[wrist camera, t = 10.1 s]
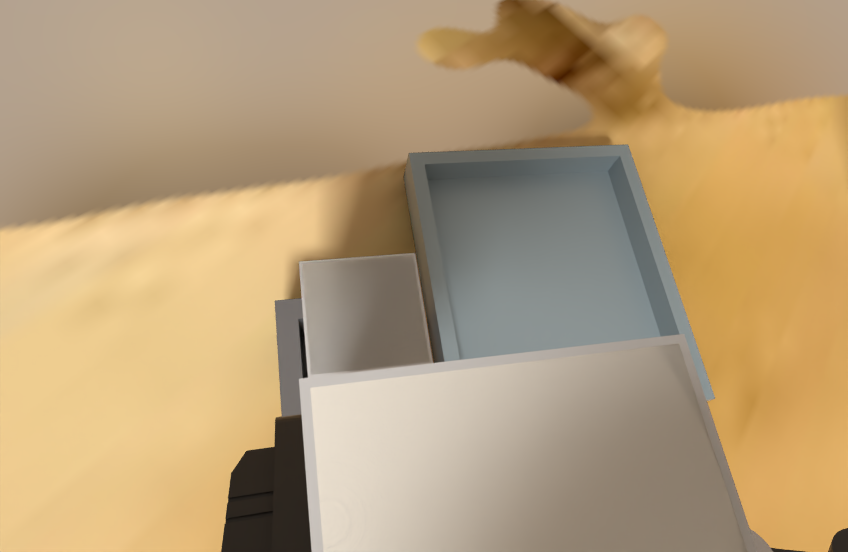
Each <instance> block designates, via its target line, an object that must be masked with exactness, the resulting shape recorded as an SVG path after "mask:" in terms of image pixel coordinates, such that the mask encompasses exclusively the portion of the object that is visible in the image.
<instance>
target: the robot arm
mask: <svg viewBox="0 0 848 552" xmlns="http://www.w3.org/2000/svg"><path fill="white" fill-rule="evenodd" d="M750 531H751V534H752V537H753V540H754V543H755V546H756V549H757V552H804V551H794V550H784V549H775V548H770V547H769V545H768V544H767V543H766V542H765V541H764V540H763V539H762V538H761V537H760V536H759V535H758V534H756V533H755V532H754V531H752V530H751V529H750ZM221 552H312V550H311V537H310V523H309V509H308V496H307V482H306V469H305V455H304V442H303V428H302V415H301V414H299V415H292V416H284V417H276V420H275V447H271V448H264V449H256V450H249V451H246V452H245V454H244V455H243V457H242V458H241V460H240V461H239V463H238V464H237V466H236V467H235V469H234V470H233V472H232V473H231V480H230V488H229V496H228V503H227V511H226V524H225V527H224V535H223V543H222V551H221ZM828 552H848V528H846V529H843V530H841V531H839V532H837V533H836V534H835V536H834V537H833V540H832V542H831V545H830V548H829V551H828Z"/></svg>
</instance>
